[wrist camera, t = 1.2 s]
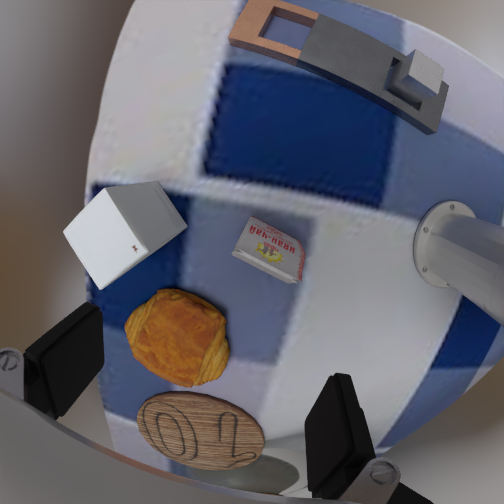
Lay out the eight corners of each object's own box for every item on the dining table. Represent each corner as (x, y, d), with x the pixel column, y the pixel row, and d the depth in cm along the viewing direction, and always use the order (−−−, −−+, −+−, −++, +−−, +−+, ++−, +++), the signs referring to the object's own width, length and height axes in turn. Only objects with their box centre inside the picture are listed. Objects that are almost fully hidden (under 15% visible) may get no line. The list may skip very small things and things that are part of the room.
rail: (439, 89, 28) (448, 85, 25) (426, 134, 30) (436, 132, 28) (254, 3, 27) (253, -7, 24) (230, 45, 29) (227, 37, 26)
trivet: (263, 393, 42) (262, 401, 40) (264, 466, 49) (264, 473, 47) (124, 381, 44) (120, 387, 42) (157, 455, 51) (155, 461, 49)
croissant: (206, 374, 44) (202, 410, 37) (121, 331, 41) (104, 364, 33) (254, 316, 40) (257, 352, 33) (156, 262, 37) (138, 290, 29)
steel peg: (414, 84, 28) (444, 68, 21) (407, 107, 29) (438, 94, 22) (389, 69, 28) (415, 48, 20) (382, 92, 29) (408, 74, 21)
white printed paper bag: (285, 266, 36) (290, 299, 26) (237, 241, 36) (225, 266, 26) (299, 241, 35) (310, 266, 25) (251, 215, 35) (243, 231, 25)
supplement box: (158, 179, 34) (105, 184, 22) (189, 227, 35) (150, 254, 23) (118, 212, 35) (60, 230, 23) (147, 256, 37) (99, 293, 25)
